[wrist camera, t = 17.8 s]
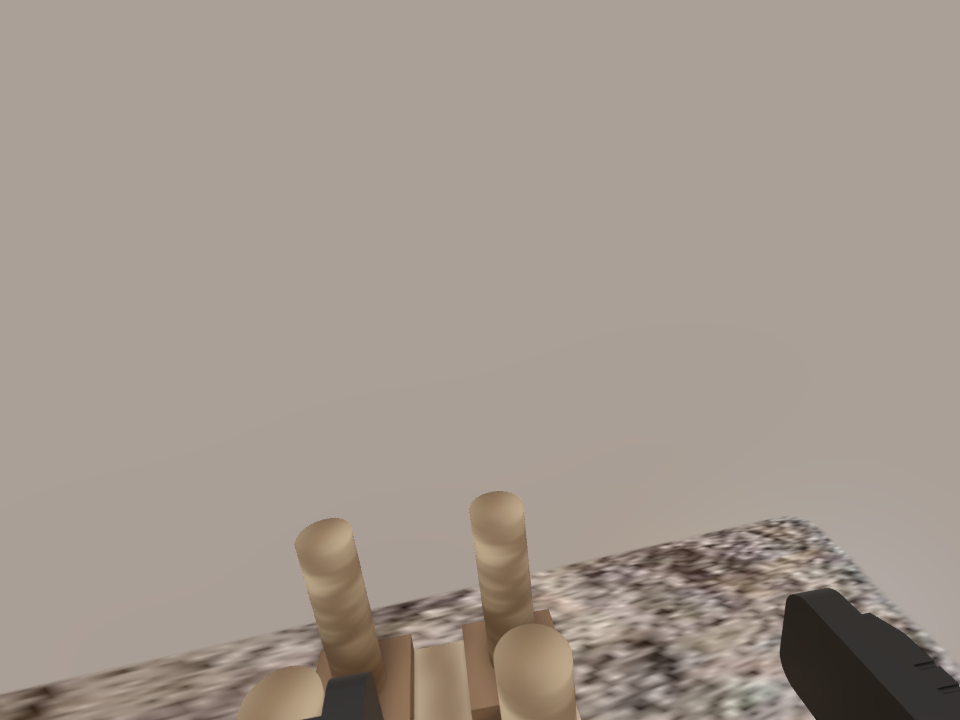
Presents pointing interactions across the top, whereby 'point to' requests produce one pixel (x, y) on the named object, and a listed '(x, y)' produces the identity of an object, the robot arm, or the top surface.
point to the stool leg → (535, 674)
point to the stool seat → (393, 661)
